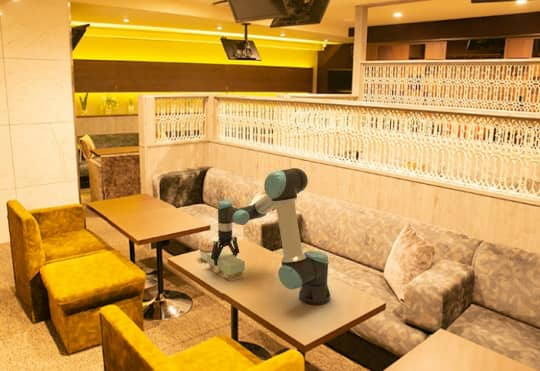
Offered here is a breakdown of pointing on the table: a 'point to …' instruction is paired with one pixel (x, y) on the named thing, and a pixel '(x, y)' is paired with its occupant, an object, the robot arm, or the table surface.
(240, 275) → the napkin box
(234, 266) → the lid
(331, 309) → the table surface
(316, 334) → the table surface
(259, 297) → the table surface
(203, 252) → the lidded jar
